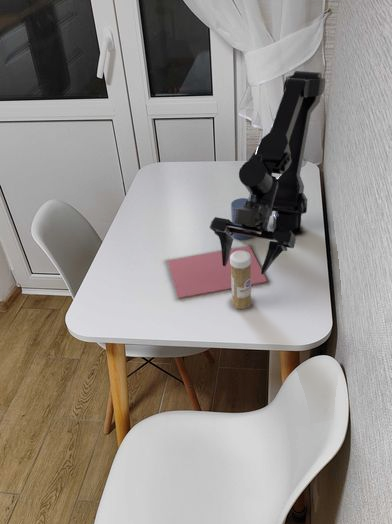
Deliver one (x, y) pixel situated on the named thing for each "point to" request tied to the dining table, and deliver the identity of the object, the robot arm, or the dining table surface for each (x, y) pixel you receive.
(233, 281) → the sprinkles bottle
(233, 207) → the blue canister
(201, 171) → the dining table surface
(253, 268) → the rose mat
